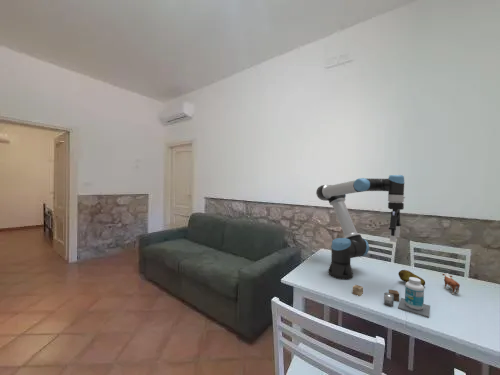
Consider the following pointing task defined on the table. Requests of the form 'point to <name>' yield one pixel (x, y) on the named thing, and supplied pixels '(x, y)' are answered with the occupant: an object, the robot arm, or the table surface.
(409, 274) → the potato
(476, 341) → the table surface
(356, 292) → the beech cube
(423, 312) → the coaster
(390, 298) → the grey egg shape
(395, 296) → the walnut cube
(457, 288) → the bull figurine
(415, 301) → the pill bottle
